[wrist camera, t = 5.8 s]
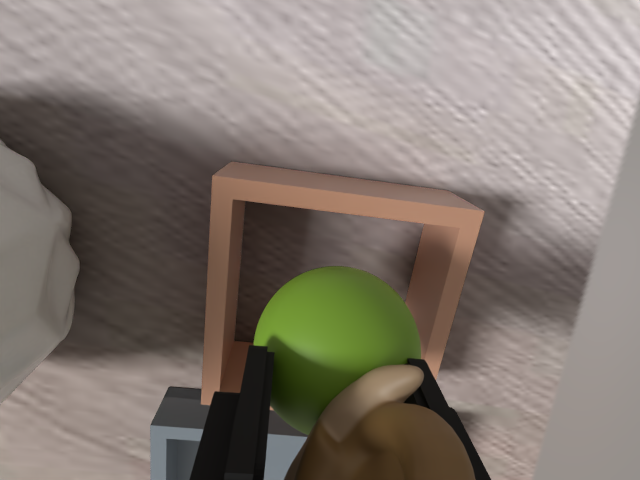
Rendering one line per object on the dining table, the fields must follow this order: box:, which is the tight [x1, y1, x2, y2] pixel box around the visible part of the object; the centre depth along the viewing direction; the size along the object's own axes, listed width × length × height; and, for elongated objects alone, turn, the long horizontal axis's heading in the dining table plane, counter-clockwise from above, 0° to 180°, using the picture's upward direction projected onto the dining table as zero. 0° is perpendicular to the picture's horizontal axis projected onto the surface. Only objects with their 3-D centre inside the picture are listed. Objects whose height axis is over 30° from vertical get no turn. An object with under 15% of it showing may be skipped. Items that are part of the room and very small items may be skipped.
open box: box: [201, 161, 485, 410], centre depth 18 cm, size 11×11×4 cm
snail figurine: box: [254, 266, 476, 480], centre depth 10 cm, size 5×6×12 cm
